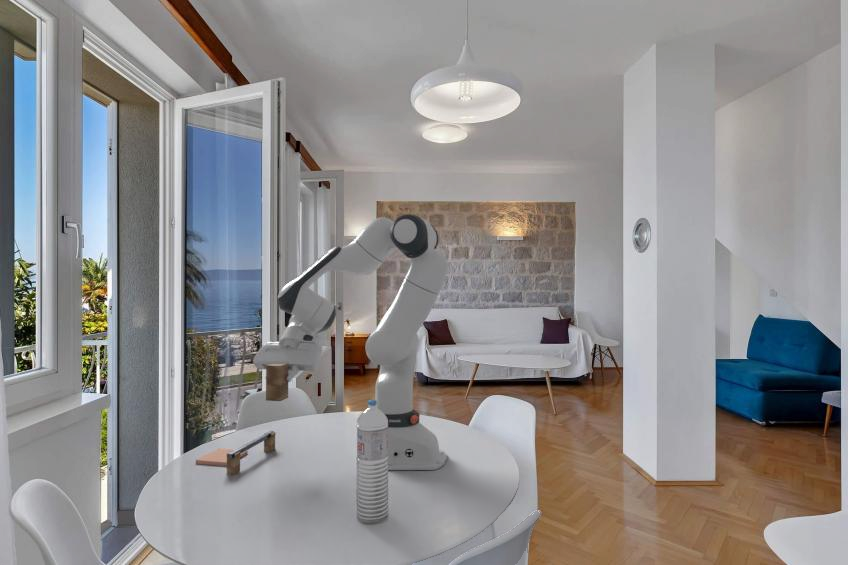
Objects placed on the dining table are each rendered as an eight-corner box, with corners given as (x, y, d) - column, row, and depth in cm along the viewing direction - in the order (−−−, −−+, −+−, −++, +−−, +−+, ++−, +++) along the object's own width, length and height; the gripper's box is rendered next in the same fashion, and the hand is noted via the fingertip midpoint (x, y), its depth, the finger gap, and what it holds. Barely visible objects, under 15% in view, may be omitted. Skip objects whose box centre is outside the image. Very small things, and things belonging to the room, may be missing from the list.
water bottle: (386, 525, 93) (386, 404, 93) (353, 525, 93) (353, 404, 94) (389, 509, 99) (389, 397, 100) (359, 509, 100) (359, 397, 100)
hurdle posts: (275, 449, 140) (275, 432, 140) (235, 475, 120) (235, 454, 120) (267, 449, 140) (267, 431, 140) (226, 474, 120) (226, 453, 120)
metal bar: (273, 434, 140) (274, 431, 140) (232, 458, 120) (232, 454, 120) (270, 434, 140) (270, 430, 140) (228, 458, 120) (228, 453, 120)
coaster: (247, 453, 136) (247, 450, 136) (226, 466, 126) (226, 462, 126) (218, 451, 138) (218, 448, 138) (195, 463, 128) (195, 460, 128)
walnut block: (288, 397, 131) (288, 363, 131) (280, 401, 126) (280, 365, 127) (274, 397, 132) (274, 363, 132) (265, 400, 127) (266, 365, 127)
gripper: (260, 335, 139) (241, 372, 129) (321, 337, 135) (306, 375, 125) (268, 348, 143) (249, 385, 133) (327, 350, 139) (313, 388, 129)
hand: (277, 380), depth 129 cm, fingers closed on walnut block, 4 cm apart
